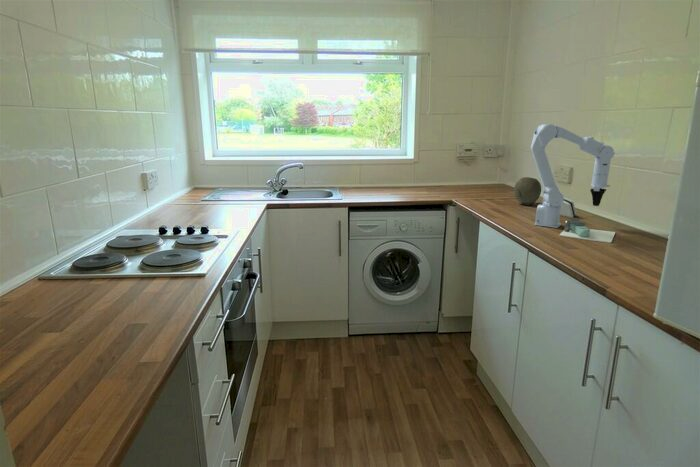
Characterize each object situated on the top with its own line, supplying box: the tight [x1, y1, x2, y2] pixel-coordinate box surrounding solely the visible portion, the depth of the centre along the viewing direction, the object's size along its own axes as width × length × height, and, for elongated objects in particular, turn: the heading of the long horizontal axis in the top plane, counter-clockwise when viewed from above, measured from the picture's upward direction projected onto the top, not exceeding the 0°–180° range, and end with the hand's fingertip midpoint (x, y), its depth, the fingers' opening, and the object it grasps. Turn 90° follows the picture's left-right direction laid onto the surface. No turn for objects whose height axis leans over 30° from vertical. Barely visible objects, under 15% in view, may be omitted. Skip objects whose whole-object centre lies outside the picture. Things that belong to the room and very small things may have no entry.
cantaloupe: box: [513, 176, 542, 206], centre depth 234 cm, size 14×14×15 cm
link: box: [570, 224, 591, 237], centre depth 174 cm, size 17×5×2 cm, turn 170°
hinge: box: [541, 197, 579, 218], centre depth 210 cm, size 17×5×10 cm, turn 30°
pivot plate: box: [559, 217, 616, 244], centre depth 172 cm, size 18×18×5 cm
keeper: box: [563, 220, 586, 232], centre depth 175 cm, size 7×2×4 cm, turn 67°
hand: (595, 205), depth 183 cm, fingers closed
